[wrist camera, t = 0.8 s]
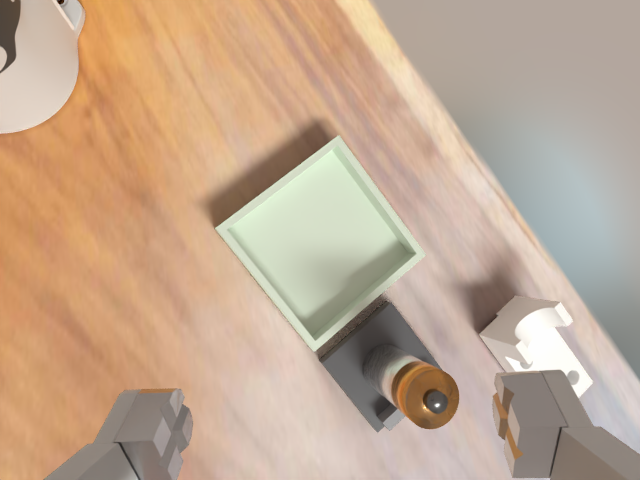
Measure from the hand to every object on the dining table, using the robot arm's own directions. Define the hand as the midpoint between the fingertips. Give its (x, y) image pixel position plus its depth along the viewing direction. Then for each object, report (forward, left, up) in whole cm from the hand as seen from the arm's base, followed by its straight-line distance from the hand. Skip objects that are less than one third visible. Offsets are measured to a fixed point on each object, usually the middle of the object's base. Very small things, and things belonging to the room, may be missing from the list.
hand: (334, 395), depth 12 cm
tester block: (+17, +7, -37) cm, 41 cm away
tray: (+2, +10, -37) cm, 38 cm away
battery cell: (+17, +7, -36) cm, 40 cm away
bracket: (+28, +22, -38) cm, 52 cm away
